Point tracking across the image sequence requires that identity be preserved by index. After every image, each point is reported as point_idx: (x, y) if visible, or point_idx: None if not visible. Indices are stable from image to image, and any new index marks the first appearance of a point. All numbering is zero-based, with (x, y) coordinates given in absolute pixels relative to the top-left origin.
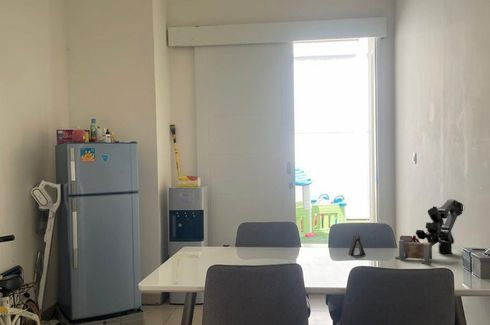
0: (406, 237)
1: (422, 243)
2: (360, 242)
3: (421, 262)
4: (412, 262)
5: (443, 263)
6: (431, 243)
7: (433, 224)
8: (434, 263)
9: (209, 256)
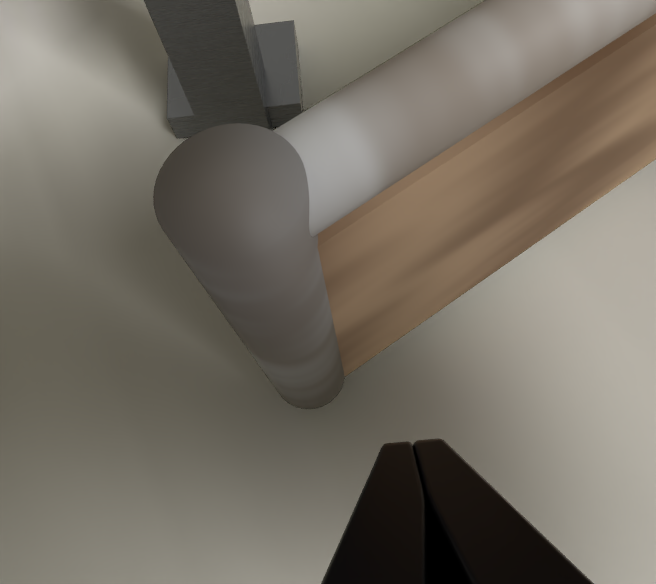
0: None
1: (471, 9)
2: None
3: (290, 31)
4: (437, 17)
5: (13, 302)
6: (159, 188)
7: None
8: (139, 192)
9: None
